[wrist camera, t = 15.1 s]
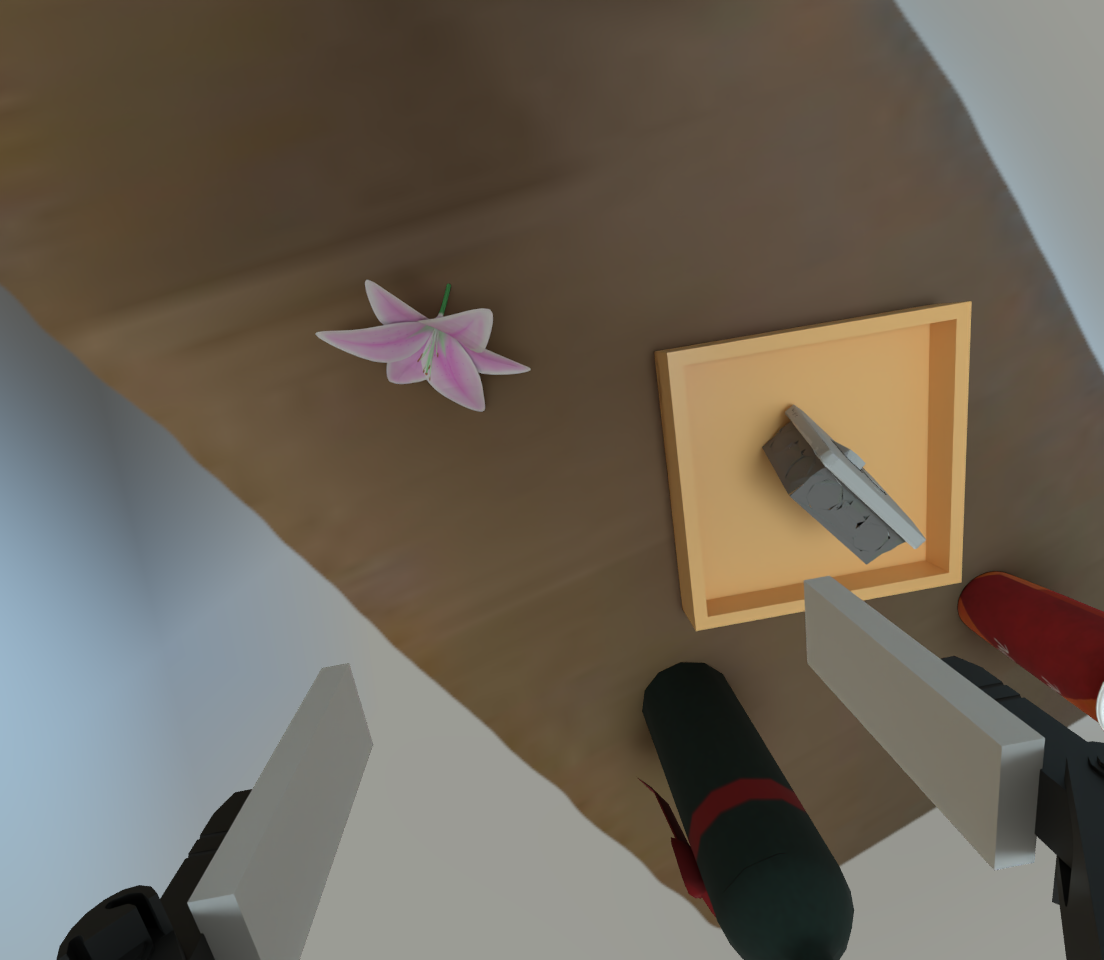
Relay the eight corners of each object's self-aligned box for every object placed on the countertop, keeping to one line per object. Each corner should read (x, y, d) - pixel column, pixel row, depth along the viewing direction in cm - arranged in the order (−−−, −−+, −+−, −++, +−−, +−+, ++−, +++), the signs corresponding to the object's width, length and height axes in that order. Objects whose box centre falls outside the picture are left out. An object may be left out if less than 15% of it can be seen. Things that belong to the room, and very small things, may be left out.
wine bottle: (603, 716, 48) (743, 1306, 19) (695, 644, 46) (997, 1153, 17) (658, 770, 49) (864, 1384, 20) (748, 702, 48) (1102, 1251, 19)
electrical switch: (870, 477, 43) (954, 525, 34) (819, 524, 44) (887, 582, 35) (789, 400, 41) (855, 429, 32) (738, 452, 42) (788, 494, 33)
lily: (324, 311, 39) (283, 390, 32) (413, 171, 33) (386, 232, 26) (464, 399, 45) (455, 482, 38) (561, 294, 39) (571, 370, 32)
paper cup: (941, 645, 48) (1108, 766, 35) (949, 564, 46) (1130, 658, 33) (1026, 635, 49) (1225, 750, 35) (1038, 554, 47) (1254, 643, 33)
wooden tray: (653, 351, 40) (667, 352, 37) (933, 304, 41) (971, 301, 37) (682, 609, 46) (696, 630, 42) (928, 564, 46) (961, 582, 43)
